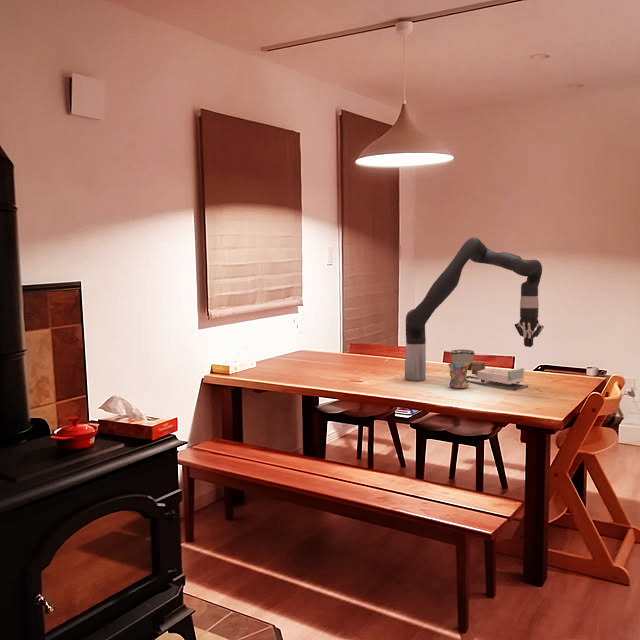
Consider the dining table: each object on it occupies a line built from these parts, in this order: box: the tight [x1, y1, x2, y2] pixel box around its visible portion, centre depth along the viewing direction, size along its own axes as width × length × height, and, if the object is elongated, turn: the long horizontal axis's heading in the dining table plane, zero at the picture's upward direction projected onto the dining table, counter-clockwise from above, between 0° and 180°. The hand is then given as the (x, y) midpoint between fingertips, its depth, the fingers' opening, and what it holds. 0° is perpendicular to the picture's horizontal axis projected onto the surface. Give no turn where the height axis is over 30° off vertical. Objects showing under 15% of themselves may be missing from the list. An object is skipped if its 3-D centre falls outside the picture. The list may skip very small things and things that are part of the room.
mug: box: [447, 361, 470, 389], centre depth 285 cm, size 12×9×11 cm
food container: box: [449, 349, 476, 370], centre depth 328 cm, size 12×6×10 cm, turn 84°
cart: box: [476, 367, 525, 387], centre depth 288 cm, size 11×17×7 cm, turn 40°
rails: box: [467, 375, 529, 391], centre depth 293 cm, size 10×32×1 cm, turn 40°
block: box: [471, 361, 486, 376], centre depth 314 cm, size 4×4×6 cm
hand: (528, 346), depth 276 cm, fingers closed
